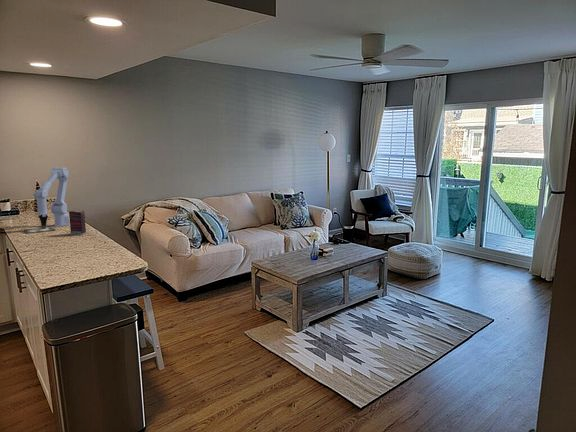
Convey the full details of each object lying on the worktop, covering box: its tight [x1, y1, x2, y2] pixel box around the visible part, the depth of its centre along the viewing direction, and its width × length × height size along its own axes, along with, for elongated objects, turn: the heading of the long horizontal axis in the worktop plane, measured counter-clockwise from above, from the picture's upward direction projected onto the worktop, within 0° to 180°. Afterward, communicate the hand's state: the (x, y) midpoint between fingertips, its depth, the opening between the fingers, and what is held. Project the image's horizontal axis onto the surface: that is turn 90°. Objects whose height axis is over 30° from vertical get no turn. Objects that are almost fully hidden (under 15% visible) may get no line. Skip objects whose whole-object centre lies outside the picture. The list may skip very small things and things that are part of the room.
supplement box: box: [68, 210, 87, 236], centre depth 274 cm, size 9×5×16 cm, turn 84°
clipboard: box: [23, 226, 56, 235], centre depth 284 cm, size 18×14×2 cm
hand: (43, 225), depth 287 cm, fingers closed on marker, 3 cm apart
